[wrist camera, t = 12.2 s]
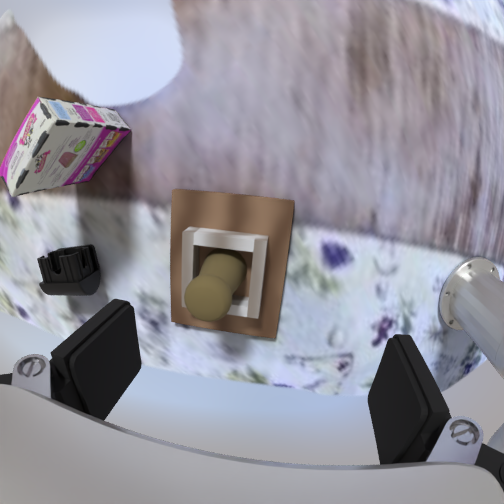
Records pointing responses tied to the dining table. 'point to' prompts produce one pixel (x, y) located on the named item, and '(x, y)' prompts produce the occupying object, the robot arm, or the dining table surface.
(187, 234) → the socket board
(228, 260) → the cork
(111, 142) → the candy bar box
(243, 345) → the dining table surface
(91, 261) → the end cap
